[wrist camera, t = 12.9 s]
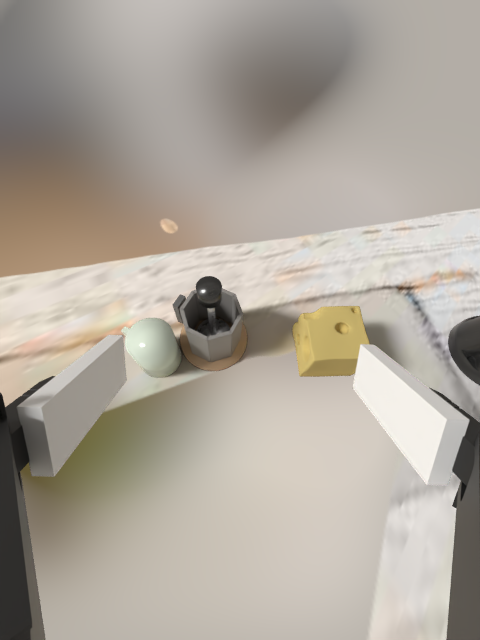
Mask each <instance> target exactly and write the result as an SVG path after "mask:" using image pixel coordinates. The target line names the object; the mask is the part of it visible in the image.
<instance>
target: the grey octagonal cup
mask: <svg viewBox="0 0 480 640" xmlns="http://www.w3.org/2000/svg"><path fill="white" fill-rule="evenodd" d="M173 308H174V311H175V314H176V317H177V320H178V322H180V323H183V324H184V326H183V328H182V331H181V334H180V344H181V348H182V351H183V353H184V355H185V357H186V358H187V360H188V361H189V362H190V363H191V364H193V365H194V366H196V367H198V368H200V369H203V370H207V371H220V370H224V369H226V368H229V367H231V366H232V365H234V364H235V363H236V362H237V361H238V360H239V359H240V358H241V357H242V355H243V354H244V351H245V349H246V345H247V331H246V328H245V326H244V324H243V322H242V320H243V312H242V310H241V307H240V304H239V302H238V299H237V297H236V294H234V293H232V292H229V291H227V290H225V289H222V301H221V303H220V304H219V305H218V306H217V307H215V317H216V318H218V319H221V320H223V321H225V322H226V323H227V324H228V326H229V328H230V331H226V332H223V333H219V334H216V335H212V336H209V337H207V336H205V335H203V334H201V333H199V332H197V328H198V326H199V325H200V324H201V323H202V322H203V321H204V320H206V319H208V311H207V308H204V307H203V306H201V305H200V304H199V302H198V297H197V291H196V290H194V291H192V292H191V293H190V295H189V296H188V297H187V299H186V298H185V296H183V295H179V297H178V298H177V300H176V301H175V302H174V304H173Z"/></svg>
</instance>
